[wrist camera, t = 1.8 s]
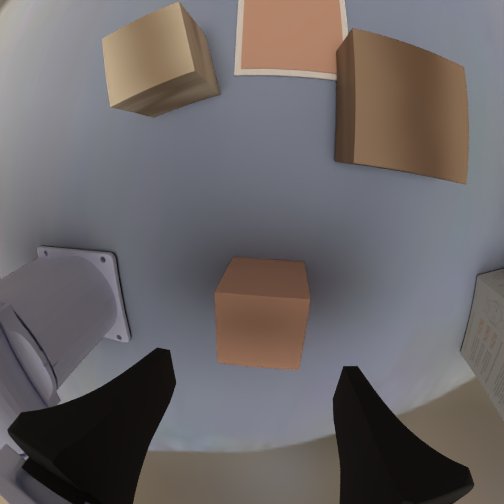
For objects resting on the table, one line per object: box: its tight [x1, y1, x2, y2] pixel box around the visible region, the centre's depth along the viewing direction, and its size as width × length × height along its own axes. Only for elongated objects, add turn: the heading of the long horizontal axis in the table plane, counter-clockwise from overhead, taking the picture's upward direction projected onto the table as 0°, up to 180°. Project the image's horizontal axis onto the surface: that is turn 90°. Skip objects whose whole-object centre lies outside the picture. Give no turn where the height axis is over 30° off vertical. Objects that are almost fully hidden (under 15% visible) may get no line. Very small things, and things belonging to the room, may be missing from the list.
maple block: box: [102, 2, 220, 117], centre depth 12 cm, size 4×4×5 cm
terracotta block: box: [215, 257, 311, 370], centre depth 16 cm, size 4×4×5 cm
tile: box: [234, 0, 348, 81], centre depth 12 cm, size 7×7×1 cm
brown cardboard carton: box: [335, 28, 469, 184], centre depth 12 cm, size 7×7×4 cm
